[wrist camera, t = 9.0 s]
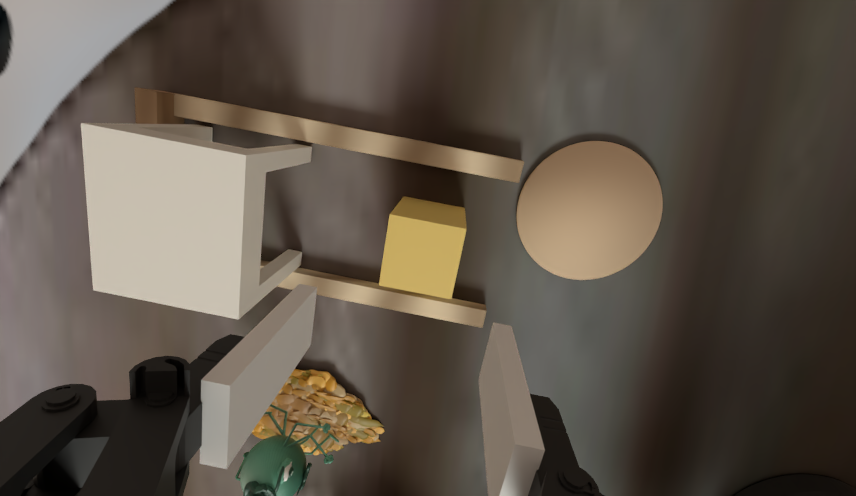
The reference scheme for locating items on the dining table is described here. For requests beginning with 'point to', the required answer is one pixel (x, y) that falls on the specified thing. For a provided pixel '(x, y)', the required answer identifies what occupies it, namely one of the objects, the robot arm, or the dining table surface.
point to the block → (423, 247)
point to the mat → (589, 210)
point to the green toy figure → (303, 432)
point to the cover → (181, 216)
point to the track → (177, 107)
